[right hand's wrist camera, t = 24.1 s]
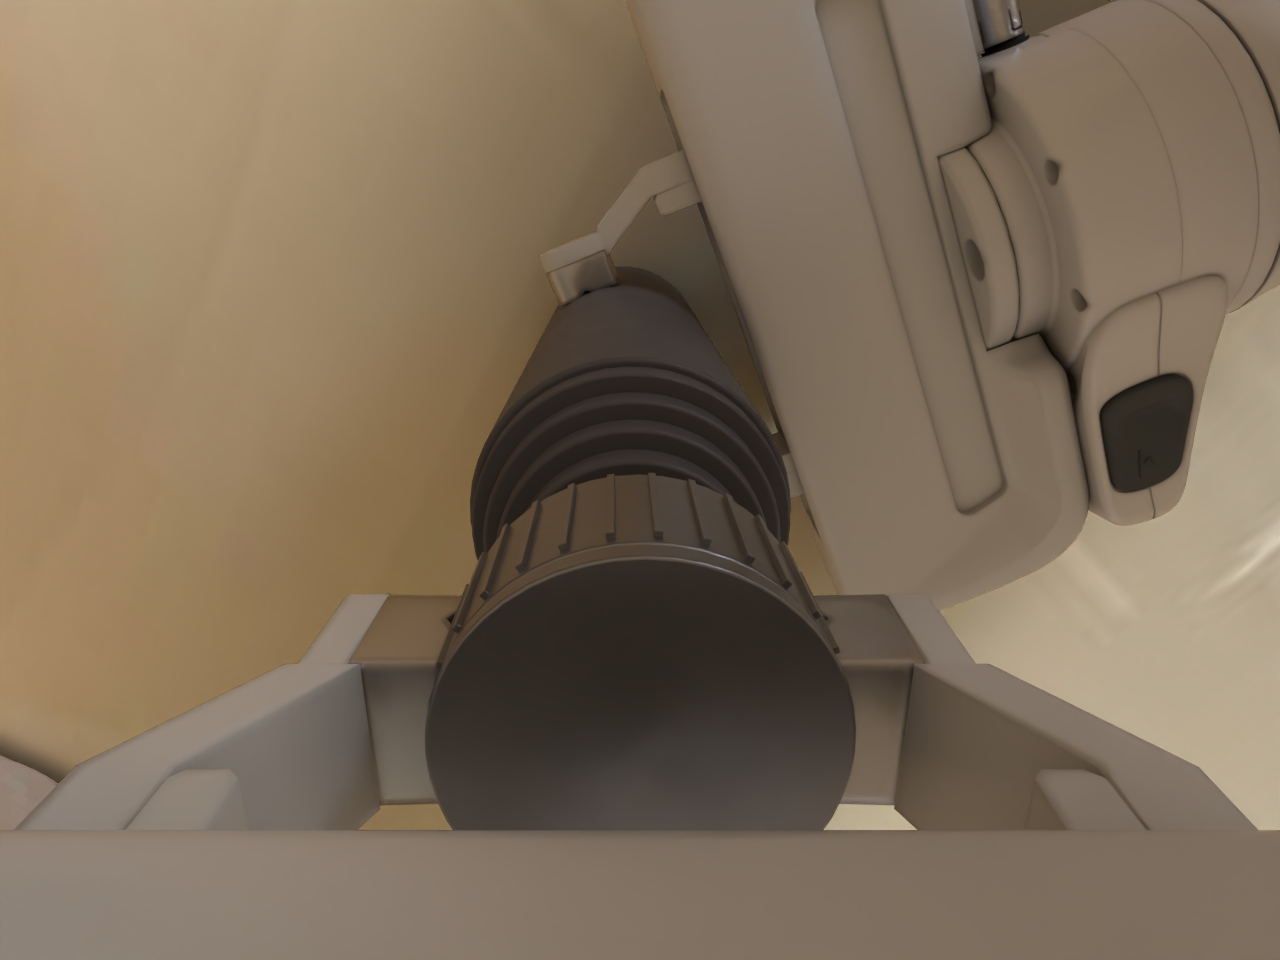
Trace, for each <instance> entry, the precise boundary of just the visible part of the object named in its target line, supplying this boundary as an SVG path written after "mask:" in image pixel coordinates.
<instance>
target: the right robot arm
mask: <svg viewBox="0 0 1280 960" xmlns="http://www.w3.org/2000/svg"><path fill="white" fill-rule="evenodd" d="M461 598H462V596H449V595H391V594H355V595H347V596H346V597H345V598H344V599H343V601H342V602H341V604H340V605H339V606H338V608H337V609H336V611H335V612H334V613H333V615H332V616H331V618H330V619H329V621H328V622H327V623H326V625H325V626H324V628H323V629H322V630H321V632H320V633H319V635H318V636H317V637H316V639H315V640H314V642H313V643H312V645H311V646H310V647H309V649H308V650H307V652H306V653H305V654H304V656H303V657H302V659H301V660H300V661H299V663H298V664H284V665H281V666H279V667H277V668H275V669H273V670H271V671H269V672H267V673H265V674H263V675H261V676H259V677H257V678H255V679H253V680H251V681H249V682H247V683H245V684H242V685H240V686H238V687H236V688H234V689H232V690H230V691H228V692H226V693H224V694H222V695H220V696H218V697H216V698H214V699H212V700H210V701H208V702H206V703H203V704H201V705H199V706H197V707H195V708H193V709H191V710H189V711H187V712H185V713H183V714H181V715H179V716H177V717H175V718H173V719H171V720H169V721H167V722H164V723H162V724H160V725H158V726H156V727H154V728H152V729H150V730H148V731H146V732H144V733H142V734H140V735H138V736H136V737H134V738H132V739H130V740H128V741H125V742H123V743H121V744H119V745H117V746H115V747H113V748H111V749H109V750H107V751H105V752H103V753H101V754H99V755H97V756H95V757H93V758H91V759H89V760H86V761H84V762H82V763H80V764H78V765H76V766H75V767H74V768H73V769H72V770H71V771H70V772H69V773H68V774H67V775H66V776H65V777H64V778H63V779H62V780H61V781H60V782H59V783H58V784H57V785H56V787H55V788H54V789H53V790H52V791H51V792H50V793H49V794H48V795H47V796H46V797H45V798H44V799H43V800H42V801H41V802H40V803H39V804H38V805H37V806H36V807H35V808H34V809H33V810H32V811H31V813H30V814H29V815H28V816H27V817H26V818H25V819H24V820H23V821H22V822H21V823H20V824H19V825H18V826H17V827H16V828H15V829H14V830H0V960H1280V830H1258V829H1257V828H1256V827H1255V826H1254V825H1253V824H1252V823H1251V822H1250V821H1249V820H1248V819H1247V818H1246V817H1245V816H1244V815H1243V813H1242V812H1241V811H1240V810H1239V809H1238V808H1237V807H1236V806H1235V805H1234V804H1233V803H1232V802H1231V801H1230V800H1229V799H1228V798H1227V796H1226V795H1225V794H1224V793H1223V792H1222V791H1221V790H1220V789H1219V788H1218V787H1217V786H1216V785H1215V784H1214V783H1213V782H1212V781H1211V780H1210V778H1209V777H1208V776H1207V775H1206V774H1205V773H1204V772H1203V771H1202V770H1201V769H1200V768H1199V767H1198V766H1196V765H1194V764H1191V763H1189V762H1187V761H1185V760H1183V759H1181V758H1179V757H1177V756H1175V755H1173V754H1171V753H1169V752H1167V751H1165V750H1163V749H1161V748H1159V747H1157V746H1155V745H1153V744H1151V743H1149V742H1147V741H1145V740H1143V739H1141V738H1139V737H1137V736H1135V735H1133V734H1131V733H1129V732H1126V731H1124V730H1122V729H1120V728H1118V727H1116V726H1114V725H1112V724H1110V723H1108V722H1106V721H1104V720H1102V719H1100V718H1098V717H1096V716H1094V715H1092V714H1090V713H1088V712H1086V711H1084V710H1082V709H1080V708H1078V707H1076V706H1074V705H1072V704H1070V703H1068V702H1066V701H1064V700H1062V699H1059V698H1057V697H1055V696H1053V695H1051V694H1049V693H1047V692H1045V691H1043V690H1041V689H1039V688H1037V687H1035V686H1033V685H1031V684H1029V683H1027V682H1025V681H1023V680H1021V679H1019V678H1017V677H1015V676H1013V675H1011V674H1009V673H1007V672H1005V671H1003V670H1001V669H999V668H997V667H994V666H992V665H990V664H976V663H975V661H974V660H973V659H972V657H971V656H970V654H969V653H968V652H967V650H966V649H965V647H964V646H963V644H962V643H961V642H960V640H959V639H958V637H957V636H956V635H955V633H954V632H953V630H952V629H951V627H950V626H949V625H948V623H947V622H946V620H945V619H944V617H943V616H942V615H941V613H940V612H939V610H938V609H937V608H936V606H935V605H934V603H933V602H932V600H931V599H930V598H929V596H927V595H924V594H922V593H919V594H897V595H885V594H871V595H829V596H814V598H815V600H816V602H817V604H818V606H819V608H820V610H821V612H822V614H823V616H824V618H825V620H826V622H827V624H828V626H829V628H830V630H831V632H832V635H833V637H834V639H835V641H836V643H837V645H838V647H839V649H840V653H838V654H836V657H837V659H838V661H839V663H840V666H841V668H842V670H843V672H844V674H845V677H846V679H847V681H848V684H849V689H850V693H851V696H852V700H853V704H854V713H855V721H856V742H855V754H854V759H853V764H852V769H851V774H850V777H849V780H848V783H847V786H846V789H845V791H844V794H843V797H842V799H841V801H840V803H839V804H869V805H895V807H894V809H895V810H897V811H898V812H899V813H900V814H901V815H902V816H903V817H904V818H905V819H906V820H907V821H908V822H910V823H911V824H912V825H913V826H914V827H915V828H916V829H917V830H357V829H359V828H360V827H361V826H362V825H363V824H364V823H365V822H366V821H367V820H368V819H370V818H371V817H372V816H373V815H374V814H375V813H376V812H377V811H378V810H379V809H380V807H379V805H404V804H438V802H437V800H436V797H435V793H434V790H433V787H432V784H431V781H430V778H429V774H428V768H427V762H426V756H425V725H426V719H427V712H428V700H429V698H430V695H431V692H432V690H433V687H434V684H435V683H436V680H437V677H438V675H439V672H440V670H439V669H436V668H435V665H436V662H437V659H438V657H439V654H440V652H441V649H442V646H443V644H444V641H445V639H446V636H447V634H448V631H449V628H450V626H451V623H452V621H453V618H454V616H455V613H456V610H457V608H458V605H459V603H460V600H461Z"/></svg>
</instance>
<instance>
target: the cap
mask: <svg viewBox="0 0 1280 960" xmlns="http://www.w3.org/2000/svg"><path fill="white" fill-rule="evenodd" d="M838 653H840V649H839V647H838V645H837V643H836V641H835V639H834V637H833V635H832V632H831V630H830V628H829V626H828V624H827V622H826V620H825V618H824V616H823V614H822V612H821V610H820V608H819V606H818V604H817V602H816V600H815V598H814V596H813V594H812V592H811V590H810V588H809V586H808V584H807V582H806V580H805V578H804V576H803V574H802V572H800V571H799V569H798V567H797V565H796V563H795V561H794V559H793V557H792V555H791V553H790V551H789V549H788V547H787V545H786V544H785V542H784V541H782V542H781V543H779V542H778V540H777V539H776V538H775V537H774V536H773V535H772V533H771V532H770V531H769V530H768V529H767V527H766V525H765V522H764V520H763V518H762V517H761V516H760V515H758V514H757V515H756V516H753V515H752V514H751V513H750V512H749V511H748V510H746V509H745V508H743V507H742V506H740V505H739V504H737V503H736V502H734V501H733V499H732V496H731V495H729V494H727V493H725V495H722V494H719V493H717V492H715V491H713V490H711V489H709V488H707V487H704V486H700V485H697V484H696V482H695V480H691V479H688V481H685V480H680V479H675V478H670V477H664V476H656V474H655V473H648V475H622V476H615V474H608V475H607V477H606V478H601V479H595V480H591V481H587V482H584V483H581V484H578V485H575V483H572V484H570V485H568V487H567V489H564V490H562V491H560V492H558V493H556V494H554V495H551V496H549V497H547V498H546V499H544V500H543V501H541V502H540V501H539V500H536V501H535V502H533V503H532V506H531V508H530V509H528V510H527V511H526V512H525V513H524V514H522V515H521V516H520V517H519V518H518V519H516V520H515V521H514V522H513V523H512V524H511V525H509V524H508V523H506V524H505V525H504V526H503V527H502V530H501V533H500V536H499V538H498V539H497V540H496V541H495V543H494V544H493V546H492V547H491V549H490V550H489V552H488V553H487V554H486V553H485V552H482V554H481V555H480V557H479V560H478V562H477V565H476V568H475V570H474V573H473V575H472V578H471V581H470V583H469V584H467V585H466V587H465V590H464V592H463V595H462V598H461V600H460V603H459V605H458V608H457V610H456V613H455V616H454V618H453V621H452V623H451V626H450V628H449V631H448V634H447V636H446V639H445V641H444V644H443V646H442V649H441V652H440V654H439V657H438V659H437V662H436V665H435V668H436V669H439V670H440V672H439V675H438V677H437V680H436V683H435V684H434V687H433V690H432V692H431V695H430V698H429V700H428V712H427V719H426V725H425V756H426V762H427V768H428V774H429V778H430V781H431V784H432V787H433V790H434V793H435V797H436V800H437V802H438V804H439V806H440V808H441V810H442V812H443V814H444V816H445V818H446V820H447V822H448V823H449V825H450V826H451V828H452V829H453V830H823V829H824V828H825V827H826V825H827V824H828V822H829V821H830V820H831V818H832V816H833V814H834V812H835V811H836V809H837V807H838V805H839V803H840V801H841V799H842V797H843V794H844V791H845V789H846V786H847V783H848V780H849V777H850V774H851V769H852V764H853V759H854V754H855V742H856V721H855V713H854V704H853V700H852V696H851V693H850V689H849V684H848V681H847V679H846V677H845V674H844V672H843V670H842V668H841V666H840V663H839V661H838V659H837V657H836V654H838Z"/></svg>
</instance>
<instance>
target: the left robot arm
mask: <svg viewBox="0 0 1280 960" xmlns="http://www.w3.org/2000/svg"><path fill="white" fill-rule="evenodd" d="M626 3H627V6H628V9H629V12H630V15H631V18H632V20H633V23H634V26H635V29H636V32H637V35H638V37H639V40H640V43H641V46H642V49H643V52H644V54H645V57H646V60H647V63H648V66H649V69H650V71H651V74H652V77H653V80H654V83H655V86H656V88H657V91H658V94H659V97H660V100H661V103H662V105H663V108H664V111H665V114H666V117H667V119H668V122H669V125H670V128H671V131H672V134H673V136H674V139H675V142H676V145H677V148H678V151H677V152H675V153H673V154H670V155H668V156H665V157H663V158H661V159H658V160H656V161H654V162H651V163H649V164H647V165H644V166H642V167H641V168H640V169H639V171H638V172H637V173H636V175H635V176H634V177H633V179H632V180H631V181H630V183H629V184H628V185H627V187H626V188H625V189H624V191H623V192H622V193H621V195H620V196H619V197H618V199H617V200H616V201H615V203H614V204H613V205H612V207H611V208H610V209H609V211H608V212H607V213H606V215H605V216H604V217H603V219H602V220H601V221H600V223H599V224H598V225H597V227H596V229H597V230H595V231H593V232H591V233H588V234H586V235H584V236H581V237H579V238H576V239H574V240H572V241H569V242H567V243H564V244H562V245H560V246H557V247H555V248H553V249H551V250H549V251H547V252H545V253H543V254H541V255H540V256H539V259H540V261H541V264H542V266H543V269H544V271H545V273H546V275H547V278H548V280H549V282H550V284H551V287H552V289H553V291H554V293H555V296H556V298H557V300H558V302H559V305H564V304H567V303H570V302H573V301H574V300H576V299H578V298H580V297H581V296H582V295H583V293H584V291H585V290H587V291H591V292H593V291H596V290H599V289H603V288H607V287H609V286H612V285H614V284H617V279H618V274H617V272H616V269H615V266H614V263H613V261H612V258H611V255H610V253H609V252H610V251H611V250H612V248H613V247H614V246H615V245H616V243H617V242H618V241H619V239H620V238H621V237H622V235H623V234H624V233H625V231H626V230H627V229H628V227H629V226H630V225H631V223H632V222H633V221H634V219H635V218H636V217H637V215H638V214H639V213H640V212H641V210H642V209H643V208H644V206H645V205H646V204H647V202H648V201H649V200H650V198H651V197H653V196H654V202H655V205H656V208H657V210H658V212H659V214H661V215H664V216H666V215H669V214H671V213H674V212H676V211H679V210H682V209H684V208H687V207H689V206H692V205H694V204H698V207H699V210H700V213H701V216H702V218H703V221H704V224H705V227H706V230H707V233H708V235H709V238H710V241H711V244H712V247H713V250H714V252H715V255H716V258H717V261H718V264H719V267H720V269H721V272H722V275H723V278H724V281H725V283H726V286H727V289H728V292H729V295H730V298H731V300H732V303H733V306H734V309H735V312H736V315H737V317H738V320H739V323H740V326H741V329H742V332H743V334H744V337H745V340H746V343H747V346H748V349H749V351H750V354H751V357H752V360H753V363H754V365H755V368H756V371H757V374H758V377H759V380H760V382H761V385H762V388H763V391H764V394H765V397H766V399H767V402H768V405H769V408H770V411H771V414H772V416H773V419H774V422H775V425H776V428H777V431H778V433H775V434H773V435H772V436H773V438H774V440H775V442H776V444H777V446H778V448H779V450H780V452H781V455H782V458H783V461H784V464H785V467H786V470H787V476H788V481H789V487H790V499H791V498H794V497H796V496H799V495H800V496H801V498H802V501H803V504H804V507H805V510H806V513H807V515H808V518H809V521H810V524H811V527H812V529H813V532H814V535H815V538H816V541H817V544H818V546H819V549H820V552H821V555H822V558H823V560H824V563H825V566H826V569H827V571H828V574H829V576H830V579H831V581H832V583H833V585H834V588H835V590H836V592H837V594H838V595H871V594H885V595H897V594H919V593H922V594H924V595H927V596H929V598H930V599H931V600H932V602H933V603H934V605H935V606H936V608H937V609H938V610H939V611H940V610H943V609H946V608H949V607H951V606H954V605H957V604H959V603H962V602H965V601H967V600H970V599H973V598H975V597H977V596H980V595H982V594H985V593H987V592H990V591H992V590H995V589H997V588H999V587H1002V586H1004V585H1006V584H1008V583H1011V582H1013V581H1015V580H1017V579H1020V578H1022V577H1024V576H1026V575H1028V574H1030V573H1032V572H1034V571H1036V570H1038V569H1040V568H1042V567H1044V566H1045V565H1047V564H1048V563H1050V562H1051V561H1053V560H1054V559H1056V558H1057V557H1058V556H1060V555H1061V554H1062V553H1063V552H1064V551H1065V550H1066V549H1067V548H1068V547H1069V546H1070V545H1071V544H1072V543H1073V542H1074V541H1075V539H1076V538H1077V536H1078V535H1079V533H1080V532H1081V530H1082V528H1083V525H1084V523H1085V520H1086V517H1087V512H1088V510H1090V511H1091V512H1093V513H1095V514H1097V515H1098V516H1100V517H1102V518H1104V519H1106V520H1108V521H1110V522H1112V523H1114V524H1116V525H1133V524H1138V523H1142V522H1145V521H1148V520H1151V519H1154V518H1157V517H1159V516H1161V515H1164V514H1165V513H1167V512H1169V511H1170V510H1171V509H1173V508H1174V507H1175V506H1176V505H1177V503H1178V502H1179V500H1180V499H1181V496H1182V494H1183V492H1184V489H1185V485H1186V481H1187V476H1188V470H1189V464H1190V458H1191V452H1192V447H1193V441H1194V436H1195V430H1196V425H1197V420H1198V415H1199V410H1200V405H1201V400H1202V396H1203V392H1204V387H1205V383H1206V379H1207V375H1208V371H1209V368H1210V364H1211V360H1212V357H1213V353H1214V350H1215V347H1216V344H1217V341H1218V338H1219V334H1220V331H1221V328H1222V325H1223V322H1224V319H1225V314H1228V313H1231V312H1233V311H1235V310H1237V309H1239V308H1241V307H1242V306H1244V305H1245V304H1247V303H1249V302H1250V301H1252V300H1253V299H1255V298H1257V297H1258V296H1260V295H1262V294H1263V293H1265V292H1267V291H1268V290H1270V289H1272V288H1274V287H1276V286H1278V285H1280V0H1116V1H1113V2H1111V3H1108V4H1106V5H1104V6H1101V7H1099V8H1096V9H1094V10H1092V11H1089V12H1087V13H1085V14H1082V15H1080V16H1077V17H1075V18H1073V19H1070V20H1068V21H1066V22H1063V23H1061V24H1058V25H1056V26H1054V27H1051V28H1049V29H1047V30H1045V31H1042V32H1040V33H1037V34H1035V35H1033V36H1030V37H1029V35H1027V36H1025V32H1024V29H1023V23H1022V18H1021V13H1020V10H1019V5H1018V1H1017V0H626ZM984 51H985V53H983V54H982V57H981V58H979V59H978V58H977V54H979V53H981V52H984Z"/></svg>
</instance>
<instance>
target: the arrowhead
mask: <svg viewBox="0 0 1280 960" xmlns="http://www.w3.org/2000/svg"><path fill="white" fill-rule="evenodd" d="M57 784H58V783H57V782H55V781H54V780H52V779H50V778H49V777H47V776H46V775H44V774H42V773H40V772H38V771H37V770H34V769H32V768H30V767H28V766H25V765H23V764H21V763H18V762H15V761H12V760H10V759H8V758H6V757H4V756H1V755H0V830H14V829H15V828H16V827H17V826H18V825H19V824H20V823H21V822H22V821H23V820H24V819H25V818H26V817H27V816H28V815H29V814H30V813H31V811H32V810H33V809H34V808H35V807H36V806H37V805H38V804H39V803H40V802H41V801H42V800H43V799H44V798H45V797H46V796H47V795H48V794H49V793H50V792H51V791H52V790H53V789H54V788H55V787H56V785H57Z"/></svg>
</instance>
